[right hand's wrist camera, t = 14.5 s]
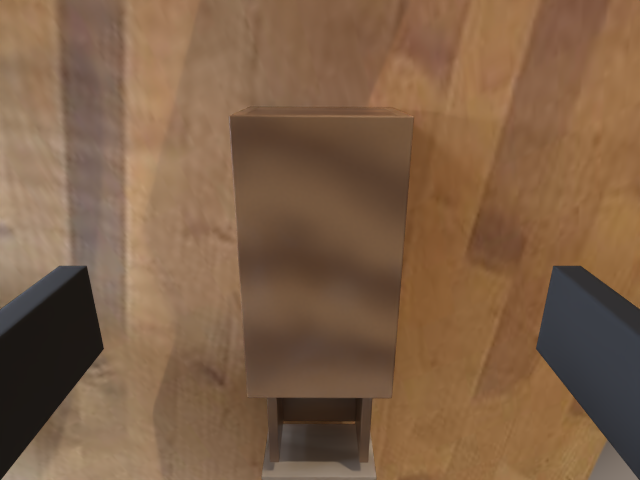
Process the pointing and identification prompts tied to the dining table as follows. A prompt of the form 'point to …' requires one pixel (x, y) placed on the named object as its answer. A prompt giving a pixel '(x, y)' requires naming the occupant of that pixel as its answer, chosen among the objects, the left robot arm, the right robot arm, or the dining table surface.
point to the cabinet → (320, 247)
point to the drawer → (319, 440)
